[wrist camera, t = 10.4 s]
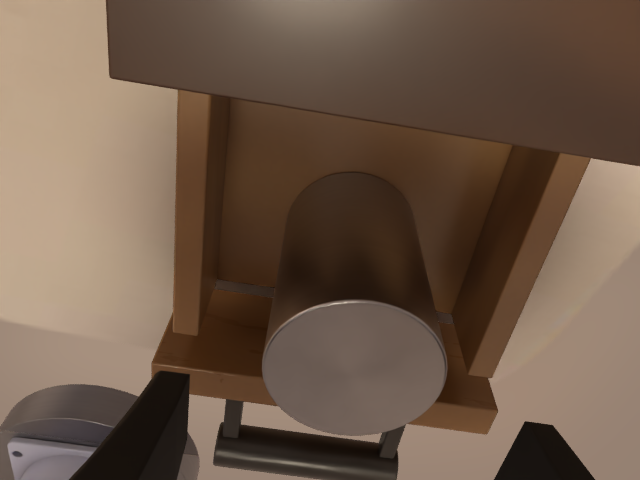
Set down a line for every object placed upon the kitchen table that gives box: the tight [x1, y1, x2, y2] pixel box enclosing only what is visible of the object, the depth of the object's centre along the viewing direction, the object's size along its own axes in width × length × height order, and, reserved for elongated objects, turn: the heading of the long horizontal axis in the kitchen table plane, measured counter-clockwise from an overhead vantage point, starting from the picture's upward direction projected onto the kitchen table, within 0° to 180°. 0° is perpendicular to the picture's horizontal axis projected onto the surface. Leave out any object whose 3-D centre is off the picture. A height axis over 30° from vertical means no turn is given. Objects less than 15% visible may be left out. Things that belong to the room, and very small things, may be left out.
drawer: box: [152, 90, 591, 480], centre depth 18 cm, size 17×11×4 cm, turn 171°
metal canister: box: [262, 172, 448, 436], centre depth 15 cm, size 4×4×6 cm
